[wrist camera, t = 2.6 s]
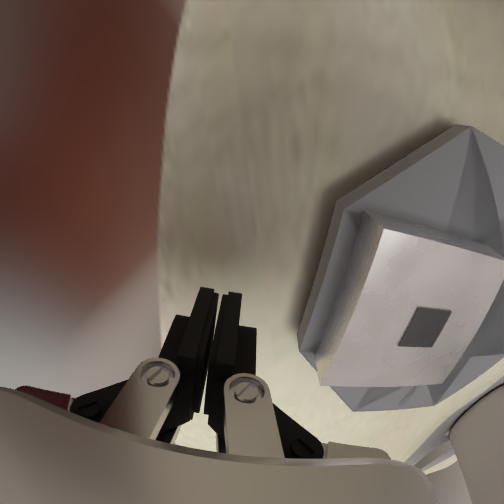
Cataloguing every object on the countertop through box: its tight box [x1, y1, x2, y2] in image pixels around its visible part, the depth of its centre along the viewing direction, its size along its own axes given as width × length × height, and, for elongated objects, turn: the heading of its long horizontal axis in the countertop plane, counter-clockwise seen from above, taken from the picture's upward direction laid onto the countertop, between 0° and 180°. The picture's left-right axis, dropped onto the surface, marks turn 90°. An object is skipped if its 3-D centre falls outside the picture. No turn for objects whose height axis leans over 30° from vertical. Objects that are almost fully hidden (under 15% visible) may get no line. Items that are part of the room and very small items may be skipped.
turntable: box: [297, 125, 504, 412], centre depth 16 cm, size 21×21×2 cm
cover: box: [314, 211, 504, 387], centre depth 14 cm, size 9×9×3 cm
